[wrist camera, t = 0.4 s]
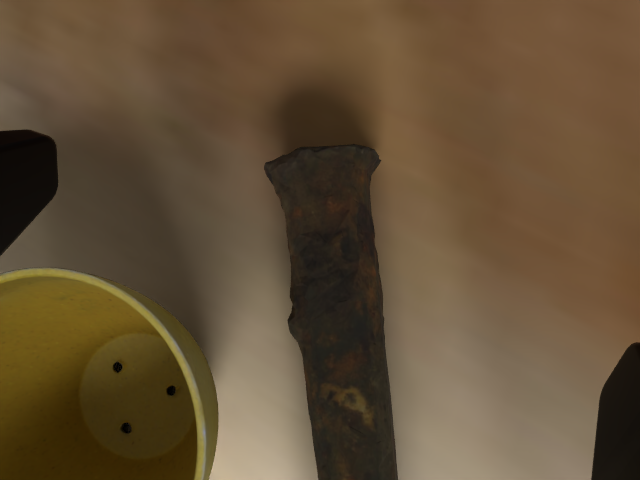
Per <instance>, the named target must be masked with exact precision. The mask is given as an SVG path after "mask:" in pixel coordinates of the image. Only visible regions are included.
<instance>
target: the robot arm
mask: <svg viewBox="0 0 640 480" xmlns="http://www.w3.org/2000/svg"><path fill="white" fill-rule="evenodd" d="M57 187H58V170H57V148H56V144H55V142H54V140H53V139H52V138H51V137H49V136H47V135H44V134H41V133H38V132H35V131H32V130H11V131H0V256H1V255H2V254H3V253H4V251H5V250H6V249H7V248H8V247H9V246H10V245H11V244H12V243H13V242H14V241H15V239H16V238H17V237H18V236H19V235H20V234H21V233H22V232H23V231H24V230H25V228H26V227H27V226H28V225H29V224H30V223H31V222H32V221H33V220H34V219H35V217H36V216H37V215H38V214H39V213H40V212H41V211H42V210H43V209H44V208H45V206H46V205H47V204H48V203H49V202H50V201H51V200H52V199H53V197H54V195H55V194H56V191H57ZM591 480H640V343H639V342H636V343H633V344H631V345H630V346H629V347H628V348H627V350H626V351H625V353H624V354H623V356H622V357H621V359H620V360H619V362H618V364H617V365H616V367H615V368H614V370H613V372H612V373H611V375H610V376H609V378H608V379H607V381H606V383H605V384H604V387H603V389H602V392H601V395H600V400H599V410H598V419H597V429H596V439H595V448H594V458H593V468H592V478H591Z"/></svg>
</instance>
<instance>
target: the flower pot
mask: <svg viewBox="0 0 640 480" xmlns="http://www.w3.org/2000/svg"><path fill="white" fill-rule="evenodd" d="M116 362H119V363H121V364H122V370H121V371H120V372H119V373H118V372H116V371H115V369H114V364H115V363H116ZM172 385H173V386H174V387H175V388H176V391H175V394H174V395H172V396H171V395H170V394H169V393H168V392H167V388H168V387H169V386H172ZM124 423H129V424H130V426H131V428H132V430H131V432H130V433H125V432H124V431H123V429H122V426H123V424H124ZM217 436H218V402H217V394H216V389H215V384H214V381H213V377H212V374H211V371H210V368H209V365H208V363H207V361H206V359H205V356H204V355H203V353H202V351H201V349H200V348H199V346H198V344H197V343H196V341H195V340H194V338H193V337H192V336H191V334H190V333H189V332H188V331H187V330H186V328H185V327H184V326H183V325H182V324H181V323H180V322H179V321H178V320H177V319H176V318H175V317H174V316H173V315H171V314H170V313H169V312H168V311H167V310H165V309H164V308H162V307H161V306H160V305H158V304H157V303H155V302H154V301H152V300H151V299H149V298H147V297H146V296H144V295H142V294H140V293H138V292H136V291H134V290H132V289H130V288H128V287H126V286H124V285H121V284H119V283H116V282H114V281H111V280H108V279H105V278H102V277H98V276H95V275H91V274H87V273H83V272H79V271H74V270H68V269H62V268H26V269H19V270H13V271H10V272H6V273H2V274H0V480H209V476H210V473H211V469H212V465H213V461H214V456H215V451H216V444H217Z"/></svg>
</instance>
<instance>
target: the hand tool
mask: <svg viewBox="0 0 640 480" xmlns="http://www.w3.org/2000/svg"><path fill="white" fill-rule="evenodd" d="M380 162H381V160H380V159H379V156H378V154H377V152H376V151H375V150H374V149H371V148H369V147H365V146H360V145H355V144H352V145H338V146H324V147H300V148H298V149H296V150H294V151H293V152H291V153H289V154H288V155H282V156H280V157H278V158H277V159H275V160H273V161H270V162H266V163H265V166H264V170H265V172H266V175H267V177H268V178H269V180H270V181H271V183H272V184H273V186H274V188H275V191H276V194H277V195H278V197H279V198H280V201H281V206H282V208H283V210H284V212H285V216H286V223H287V236H288V248H289V251H290V259H291V288H290V298H291V301H292V303H293V306H292V312H291V314H290V316H289V319H288V325H289V330H290V333H291V334H292V336H293V337H294V339H295V340H296V341H297V342H298V344H299V347H300V350H301V352H302V356H303V365H304V373H305V380H306V390H307V401H308V410H309V416H310V421H311V425H312V436H313V443H314V450H315V457H316V463H317V471H318V480H398V475H397V464H396V450H395V439H394V429H393V417H392V405H391V395H390V385H389V377H388V369H387V361H386V351H385V335H384V328H383V327H384V317H383V294H382V286H381V280H380V275H379V265H378V257H377V251H376V248H375V245H374V238H375V234H374V225H373V220H372V215H371V203H370V190H369V186H370V181H371V175H372V173H373V172H374V171H375V169H376V168H377V166H378V165H379V164H380Z"/></svg>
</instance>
